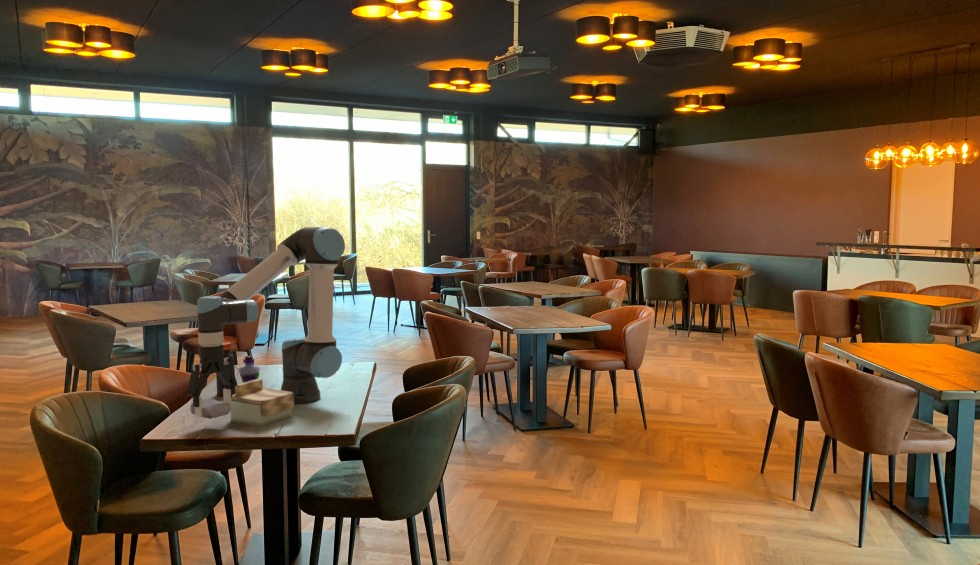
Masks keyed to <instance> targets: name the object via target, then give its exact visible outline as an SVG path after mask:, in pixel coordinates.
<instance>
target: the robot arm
mask: <svg viewBox="0 0 980 565" xmlns="http://www.w3.org/2000/svg"><path fill="white" fill-rule="evenodd" d="M345 248H346V242H345V239H344V237H343V235H342V234H341V233H340V231H338V230H337V229H336V228H333V227H328V226H316V227H315V226H307V227H303V228H300V229H298V230H296V231H294V232H293V233H292V234H290V235H289V236H288V237H286V238H285V239H284V240H282V241H281V242H280V243H279V244H278V245H277V246H276V250H275V251H273V252H272V253H270V254H269V255H268V256H267V257H266V258H265V259H263V260H262V261H261V262H259V264H257V265H256V266H255V267H253V268H252V269H251V270H250V271H248V272H247V273H246V274H245V275H244V276H242V277H241V278H240V279H239V280H237V281H236V282H235V283H234V284H232V285H231V286H230V287H229V288H228V289H226V290H224V292H223V293H221V294H220V295H216V296H215V295H209V296H206V295H205V296H200V297H199V298H198V299H197V302H196V313H197V314H196V315H197V329H198V331H197V334H198V335H197V338H198V339H197V340H198V345H199V346H198V357H199V359H200V360H199V363H196V364H195V363H192V364H191V365H190V369H191V373H190V376H189V382H188V386H187V391H186V396H189V397H192V403H193V406H194V407H195V414H194V416H195V417H197V418H204V417H203V405H202V399H203V396H201V394H202V391H203V389H204V387H205V385H206V382H207V379H208V378H209V377H210V376H211V375H213V374H216V373H217V375H218V376H219V378H220V380H221V381H222V383H223V384H224V386H225V388H226V389H223V396H222V398H223V403H224V404H227V403H228V404H231V398H232V389H234V388H235V386H237V384H238V381H237V378H236V373H235V374H234V371H233V368H232V359H231V358H224V359H223V355H224V346H223V345H222V343H225V342H224V341H225V340H224V339H225V338H224V326H227V325H233V324H243V323H244V324H245V323H246V324H247V323H252V322H256V320H258V317H259V314H260V312H259V310H260V309H259V305H258V303H257V302H256V300H254V299H252V298H253V297H254V296H256V295H257V294H258V293H259V292H260V291H262V290H263V289H264V288H265V287H266V286H268V285H269V284H270V283H271V282H273V281H274V280H275V279H276V278H277V277H279V276H280V275H281V274H283V273H284V272H285V271H286V270H287V269H288V268H290V267H291V266H297V265H298V264H299V263H300V262H303V261H304V260H305V261H304V262H305V263H304V264H305V265H306V267H308V269H309V276H308V277H309V279H308V316H307V317H308V318H307V320H308V322H307V323H308V324H307V335H306V337H301V338H292V339H286V340H284V341H282V345H281V352H282V353H281V354H282V355H281V356H282V382H281V383H282V384H281V386H280V387H281V388H280V390H282V391H289V392H292V393H294V405H295V404H306V403H312V402H315V401H318V400H320V399H321V390H320V388H319V386H318V383H317V379H316V378H318V379H319V378H322V379H326V378H331V377H332V376H334V375H335V374H336V373H337V372H338V371H339V370H340V368H341V366H342V362H343V356H342V353H341V351H340V350H339V348H337V338H335V336H334V335H333V320H334V319H333V316H334V309H333V308H334V279H335V269H336V268H337V267H338V266H339V259H340V258H341V257H342V255H343V254H344V253H345V251H346V250H345ZM223 364H224V368H225V371H226V374H225V371H224V369H223V367H222V365H223Z"/></svg>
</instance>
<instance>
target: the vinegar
mask: <svg viewBox="0 0 980 565" xmlns="http://www.w3.org/2000/svg"><path fill="white" fill-rule="evenodd" d="M222 345H223V346H224V355H223V359H224V358H231V359H232V368H233V371H234V374H235V375H236V370H235V369H236V368H235V356H234V354H233V353H232V352H231V351H232V343H231V342H223V343H222ZM222 367H223V369H224V371H225V368H224V364H223V365H222ZM225 374H226V371H225ZM215 377H216V378H215V380H216V395H217V396H219V397H223V389H226V388H225V386H224V384H223V383H222V381H221V380H220V378H219V376H218V375H217V373H215ZM234 394H236V390H235V388H234V389H232V395H234Z"/></svg>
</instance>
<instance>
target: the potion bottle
mask: <svg viewBox="0 0 980 565" xmlns="http://www.w3.org/2000/svg"><path fill="white" fill-rule="evenodd" d="M242 363H243V364H244V366H243V367H240V368H238V373H239V377H241V383H244V382H248V381H252V380H256V379H259V377H260V369H261V367H260V366H257V365H253V364H254V363H255V359H254V358H253V355H246V356H244V359H242Z"/></svg>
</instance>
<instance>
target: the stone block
mask: <svg viewBox="0 0 980 565" xmlns="http://www.w3.org/2000/svg"><path fill="white" fill-rule="evenodd" d="M202 405H203V417H202V418H204V419H213V418H214V419H216V418H219V417H223V416H227V415H228V414H230V413H231V411H230V410H231V404H228V403H227V404H224V402H222V401H219V400H216V399H212V398H210V399H209V398H202ZM190 413H191V414H192V415H195V407H194V406H193V402H191V404H190Z"/></svg>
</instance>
